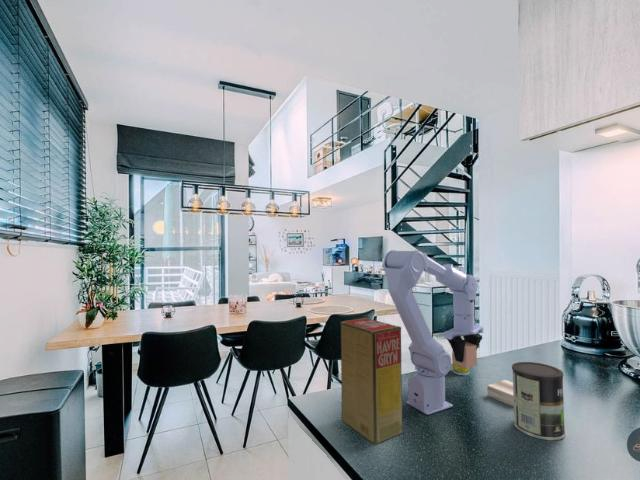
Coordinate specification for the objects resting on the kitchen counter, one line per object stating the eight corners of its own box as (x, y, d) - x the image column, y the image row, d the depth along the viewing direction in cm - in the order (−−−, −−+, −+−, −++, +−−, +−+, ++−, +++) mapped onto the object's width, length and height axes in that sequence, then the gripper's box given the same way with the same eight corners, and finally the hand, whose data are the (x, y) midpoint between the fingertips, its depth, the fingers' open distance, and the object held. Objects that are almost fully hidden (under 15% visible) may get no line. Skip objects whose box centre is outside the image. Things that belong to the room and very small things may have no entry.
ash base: (514, 407, 91) (514, 395, 91) (487, 395, 98) (487, 385, 98) (532, 400, 94) (532, 389, 94) (505, 389, 102) (504, 379, 102)
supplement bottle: (464, 369, 119) (463, 341, 119) (472, 375, 113) (472, 346, 114) (449, 370, 118) (448, 342, 118) (457, 376, 113) (457, 347, 113)
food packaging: (405, 432, 79) (402, 326, 80) (374, 446, 74) (372, 332, 75) (368, 410, 91) (366, 316, 91) (339, 420, 86) (337, 321, 86)
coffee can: (563, 424, 82) (561, 365, 82) (567, 446, 73) (565, 380, 73) (514, 413, 87) (512, 358, 88) (512, 432, 79) (510, 371, 79)
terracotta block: (466, 368, 98) (465, 347, 98) (453, 363, 102) (453, 343, 102) (476, 365, 100) (476, 345, 100) (464, 361, 104) (463, 341, 104)
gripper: (457, 319, 94) (459, 368, 94) (491, 313, 101) (493, 359, 101) (438, 315, 101) (439, 361, 100) (471, 310, 107) (472, 353, 107)
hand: (465, 359), depth 101 cm, fingers closed on terracotta block, 4 cm apart
